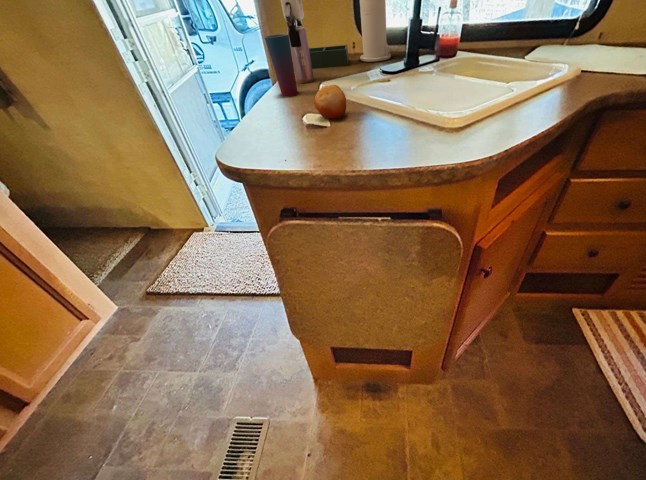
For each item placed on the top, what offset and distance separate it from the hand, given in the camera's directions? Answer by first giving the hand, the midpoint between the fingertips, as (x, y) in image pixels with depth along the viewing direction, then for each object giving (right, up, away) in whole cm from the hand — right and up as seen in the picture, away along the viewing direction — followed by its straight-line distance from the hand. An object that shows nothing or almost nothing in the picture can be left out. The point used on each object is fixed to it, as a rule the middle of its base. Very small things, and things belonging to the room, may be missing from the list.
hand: (298, 44), depth 102 cm
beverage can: (+1, -8, +8) cm, 11 cm away
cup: (-2, -18, -3) cm, 19 cm away
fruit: (+14, -35, -21) cm, 43 cm away
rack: (+6, +10, +24) cm, 27 cm away
